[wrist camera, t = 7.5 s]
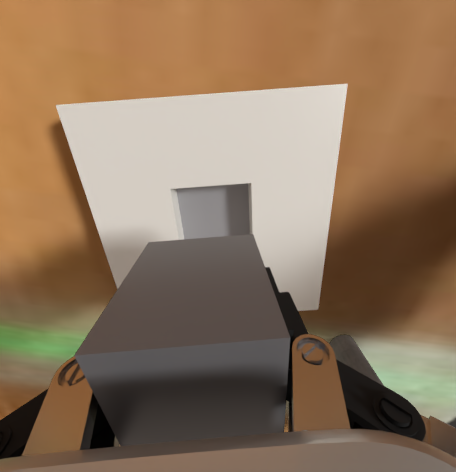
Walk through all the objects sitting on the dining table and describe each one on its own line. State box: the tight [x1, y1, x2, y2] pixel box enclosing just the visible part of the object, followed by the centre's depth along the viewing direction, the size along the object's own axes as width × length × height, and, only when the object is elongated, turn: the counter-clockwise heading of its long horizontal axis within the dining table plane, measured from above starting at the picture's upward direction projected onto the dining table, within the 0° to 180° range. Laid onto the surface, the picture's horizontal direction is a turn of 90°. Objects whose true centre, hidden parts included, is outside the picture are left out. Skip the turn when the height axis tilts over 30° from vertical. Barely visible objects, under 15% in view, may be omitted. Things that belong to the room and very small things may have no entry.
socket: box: [56, 84, 348, 311], centre depth 20 cm, size 20×20×4 cm
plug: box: [74, 234, 290, 446], centre depth 10 cm, size 5×6×7 cm
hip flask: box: [330, 335, 384, 386], centre depth 23 cm, size 16×4×20 cm, turn 25°
